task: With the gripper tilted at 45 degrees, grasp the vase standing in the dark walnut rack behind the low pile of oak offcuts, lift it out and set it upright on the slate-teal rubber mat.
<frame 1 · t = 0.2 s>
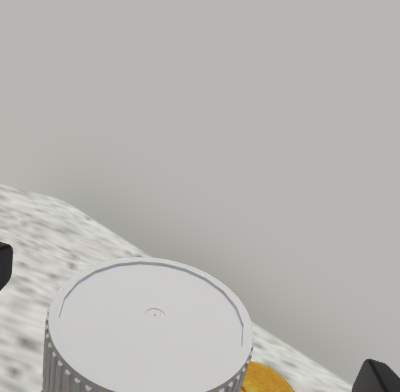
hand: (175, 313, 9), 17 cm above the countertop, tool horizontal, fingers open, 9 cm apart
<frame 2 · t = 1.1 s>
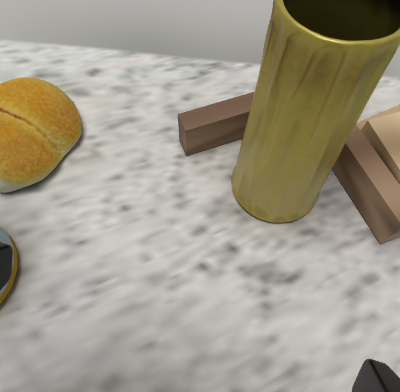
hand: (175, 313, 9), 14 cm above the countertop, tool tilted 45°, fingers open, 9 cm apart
offcut rack: (274, 184, 27), on the countertop
bread roll: (25, 146, 28), on the countertop
vase: (273, 186, 27), on the countertop
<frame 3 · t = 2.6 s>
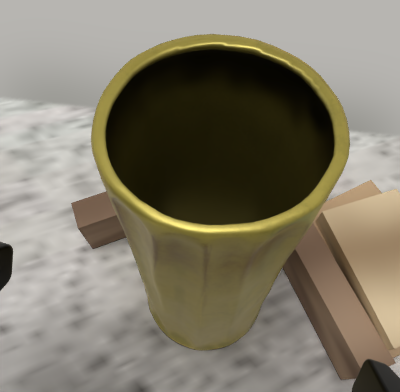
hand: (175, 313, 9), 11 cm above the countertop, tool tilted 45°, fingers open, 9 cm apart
offcut rack: (204, 289, 20), on the countertop
vase: (204, 290, 20), on the countertop
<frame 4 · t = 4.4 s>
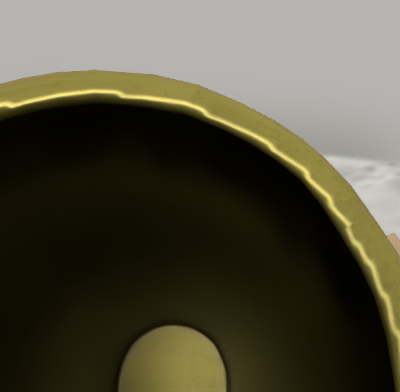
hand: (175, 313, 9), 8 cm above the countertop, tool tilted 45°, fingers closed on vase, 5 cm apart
vase: (173, 380, 15), on the countertop, touching gripper
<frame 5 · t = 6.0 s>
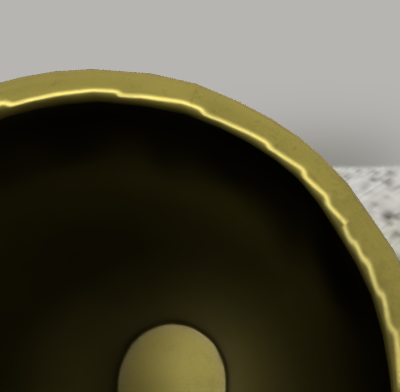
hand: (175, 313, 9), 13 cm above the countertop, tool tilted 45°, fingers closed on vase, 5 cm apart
vase: (173, 379, 15), point 5 cm above the countertop, touching gripper
when the fingers open (9 cm above the countertop, at t = 7.9 s): vase drops 1 cm, resting on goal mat.
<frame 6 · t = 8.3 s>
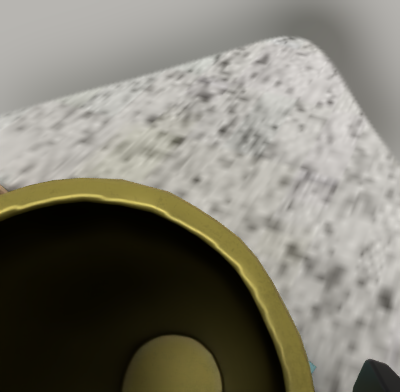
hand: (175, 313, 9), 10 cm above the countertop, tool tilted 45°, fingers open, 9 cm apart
vase: (174, 385, 17), resting on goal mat
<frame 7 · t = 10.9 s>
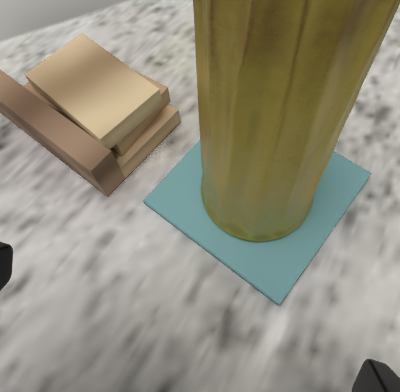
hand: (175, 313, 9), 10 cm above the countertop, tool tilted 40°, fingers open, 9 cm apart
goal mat: (256, 190, 21), on the countertop
vase: (255, 191, 21), resting on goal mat
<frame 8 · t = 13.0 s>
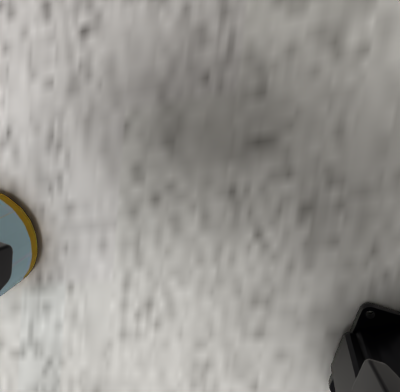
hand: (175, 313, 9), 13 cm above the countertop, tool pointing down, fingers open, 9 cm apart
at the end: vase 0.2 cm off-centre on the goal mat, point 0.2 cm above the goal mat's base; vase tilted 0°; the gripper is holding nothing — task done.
